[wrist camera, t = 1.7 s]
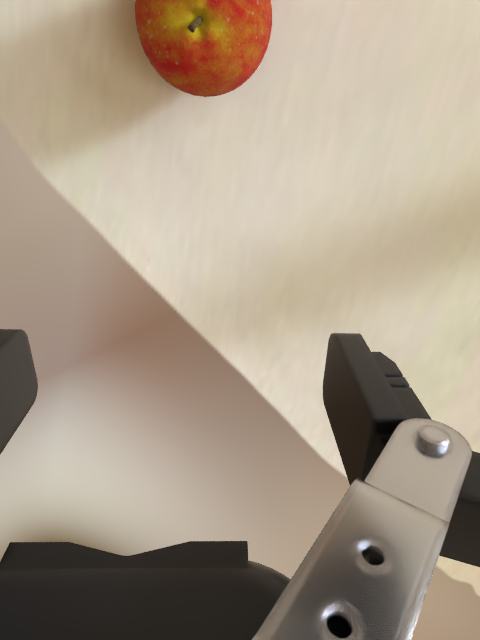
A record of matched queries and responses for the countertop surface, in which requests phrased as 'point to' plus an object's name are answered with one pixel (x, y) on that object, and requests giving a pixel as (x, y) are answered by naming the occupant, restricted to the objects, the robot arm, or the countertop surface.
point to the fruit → (204, 41)
